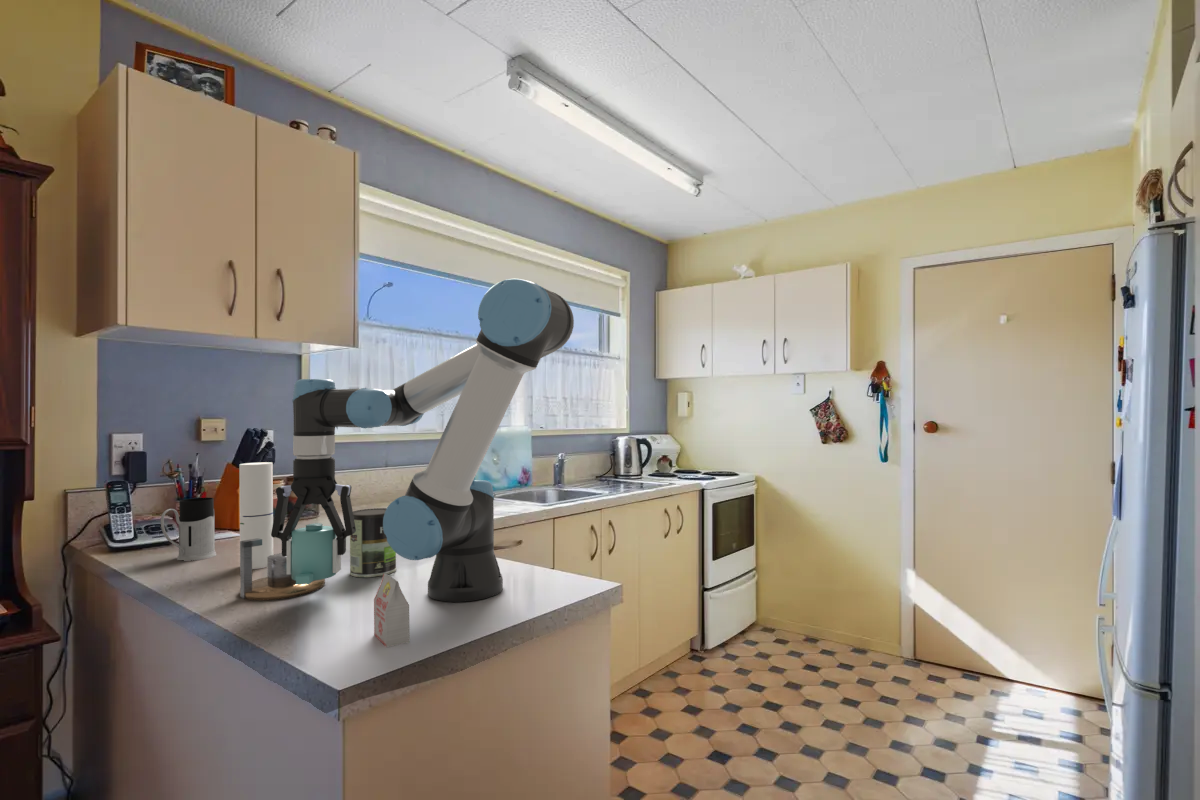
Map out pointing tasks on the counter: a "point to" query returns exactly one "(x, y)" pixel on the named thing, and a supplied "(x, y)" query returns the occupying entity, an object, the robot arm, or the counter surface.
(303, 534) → the teal plastic cylinder
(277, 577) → the post fixture
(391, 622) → the milk carton
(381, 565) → the coffee can
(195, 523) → the white and black mug
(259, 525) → the cylindrical container
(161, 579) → the counter surface
